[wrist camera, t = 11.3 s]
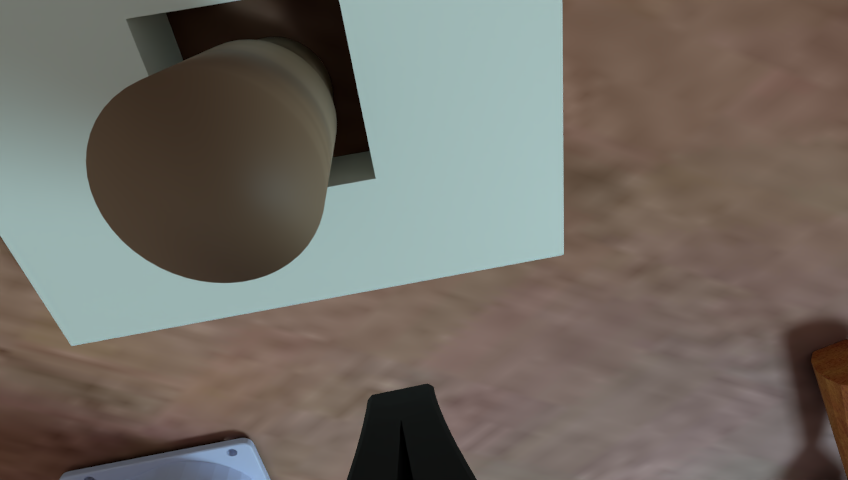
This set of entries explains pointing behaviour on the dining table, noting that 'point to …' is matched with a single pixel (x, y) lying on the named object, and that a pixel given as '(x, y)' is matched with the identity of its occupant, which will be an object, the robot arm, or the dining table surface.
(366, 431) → the robot arm
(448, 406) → the dining table surface
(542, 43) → the sage board
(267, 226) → the walnut peg
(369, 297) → the dining table surface
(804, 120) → the dining table surface
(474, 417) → the dining table surface
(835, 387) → the kendama
